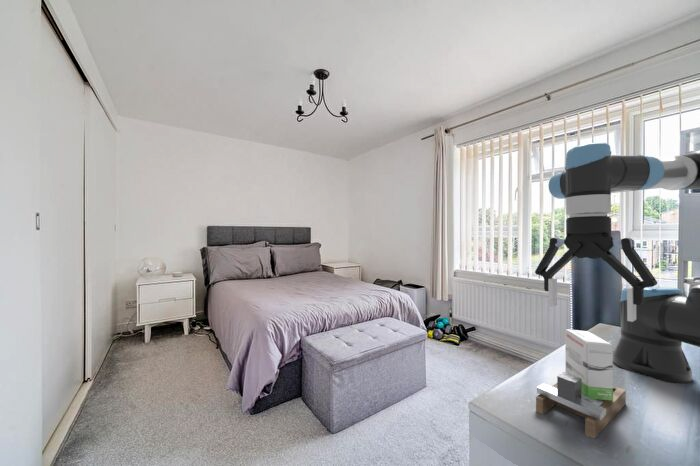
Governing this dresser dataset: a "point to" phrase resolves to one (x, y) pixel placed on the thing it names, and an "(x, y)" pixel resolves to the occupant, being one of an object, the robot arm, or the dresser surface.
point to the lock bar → (571, 395)
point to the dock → (591, 424)
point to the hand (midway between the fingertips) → (588, 312)
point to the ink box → (590, 363)
